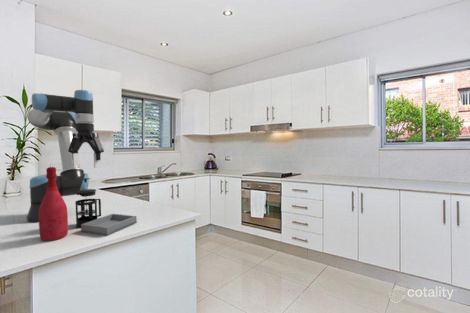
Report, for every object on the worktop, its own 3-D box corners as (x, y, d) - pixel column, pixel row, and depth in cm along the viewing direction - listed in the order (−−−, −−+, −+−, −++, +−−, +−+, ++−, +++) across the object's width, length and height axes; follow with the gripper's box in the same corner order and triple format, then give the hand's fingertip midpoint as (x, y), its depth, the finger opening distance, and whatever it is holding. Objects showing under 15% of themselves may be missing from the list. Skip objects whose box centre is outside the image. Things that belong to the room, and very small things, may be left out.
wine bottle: (49, 233, 109) (46, 166, 107) (73, 232, 110) (70, 165, 108) (33, 242, 99) (29, 168, 98) (59, 241, 100) (56, 168, 98)
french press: (79, 229, 114) (77, 180, 113) (71, 225, 119) (68, 178, 118) (105, 223, 123) (103, 177, 122) (96, 219, 129) (94, 176, 128)
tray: (81, 232, 111) (81, 224, 110) (113, 220, 128) (112, 213, 127) (107, 235, 106) (106, 227, 106) (136, 223, 123) (136, 216, 123)
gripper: (58, 123, 119) (60, 167, 120) (97, 121, 111) (99, 168, 112) (73, 124, 126) (74, 165, 127) (111, 122, 118) (112, 166, 119)
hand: (86, 167), depth 120 cm, fingers open, 13 cm apart
